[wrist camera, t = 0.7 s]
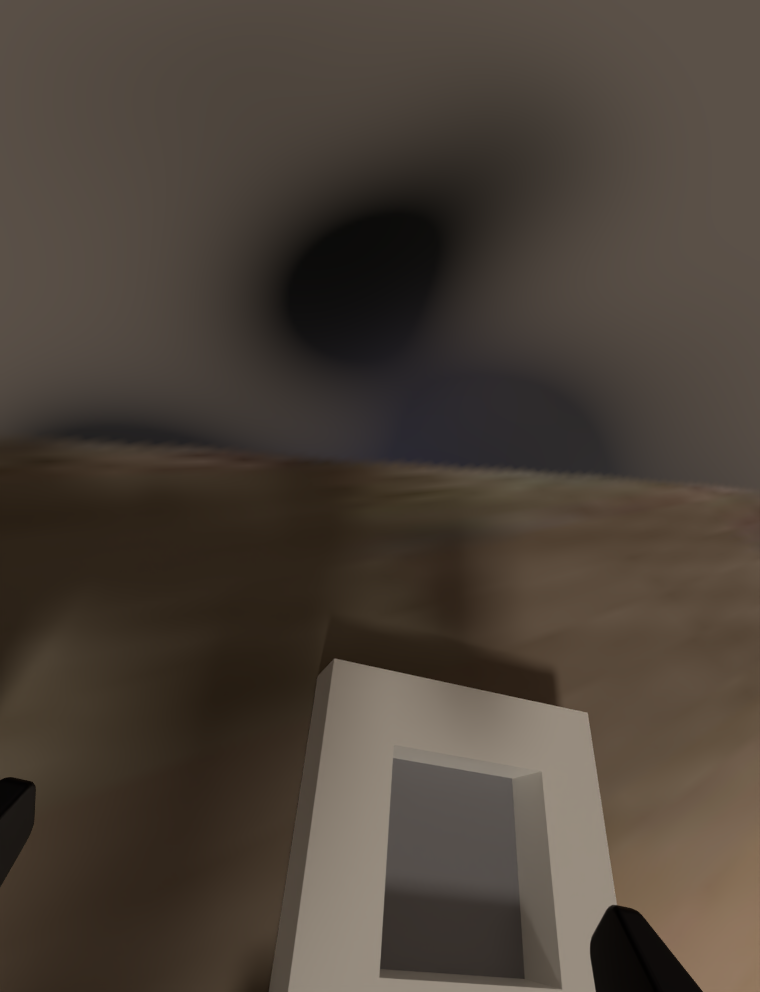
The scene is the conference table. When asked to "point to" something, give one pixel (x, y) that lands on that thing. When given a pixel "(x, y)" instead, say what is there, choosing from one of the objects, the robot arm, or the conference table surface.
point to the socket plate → (441, 842)
